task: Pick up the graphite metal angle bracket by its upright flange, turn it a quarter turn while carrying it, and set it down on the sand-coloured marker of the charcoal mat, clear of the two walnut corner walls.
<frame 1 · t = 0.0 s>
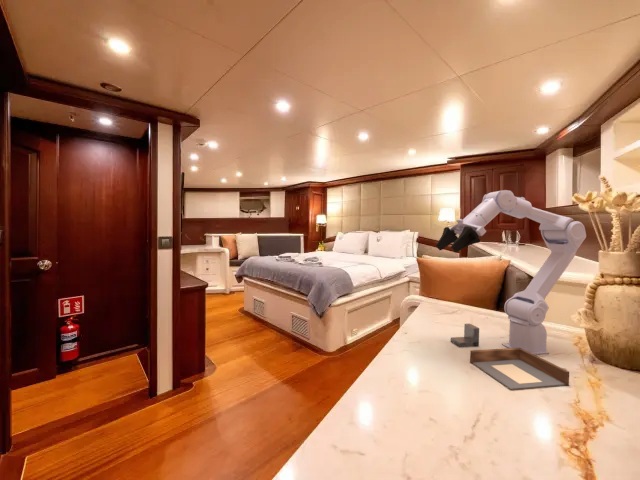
hand: (445, 248, 83), 32 cm above the worktop, tool tilted 50°, fingers open, 7 cm apart
angle bracket: (464, 344, 92), on the worktop
corner mat: (515, 372, 73), on the worktop
corner walls: (515, 372, 73), resting on corner mat
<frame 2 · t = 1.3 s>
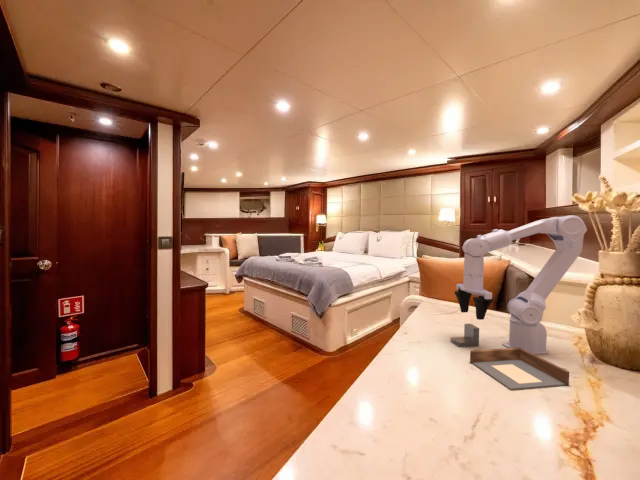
hand: (471, 315, 92), 9 cm above the worktop, tool pointing down, fingers open, 7 cm apart
nothing on the worktop moved.
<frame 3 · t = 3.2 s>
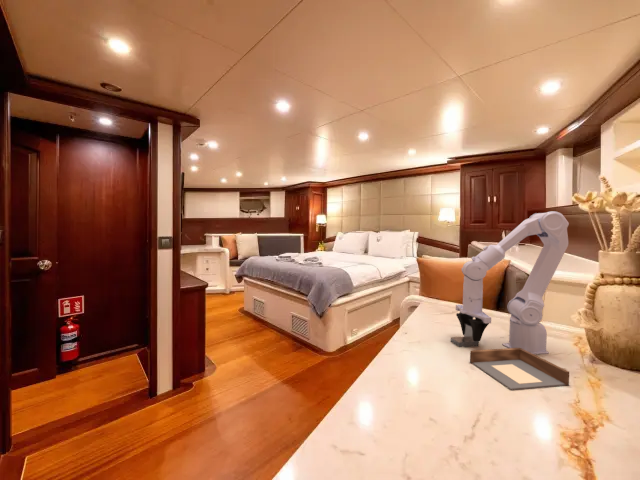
hand: (471, 337, 92), 2 cm above the worktop, tool pointing down, fingers closed on angle bracket, 4 cm apart
angle bracket: (464, 343, 92), on the worktop, touching gripper
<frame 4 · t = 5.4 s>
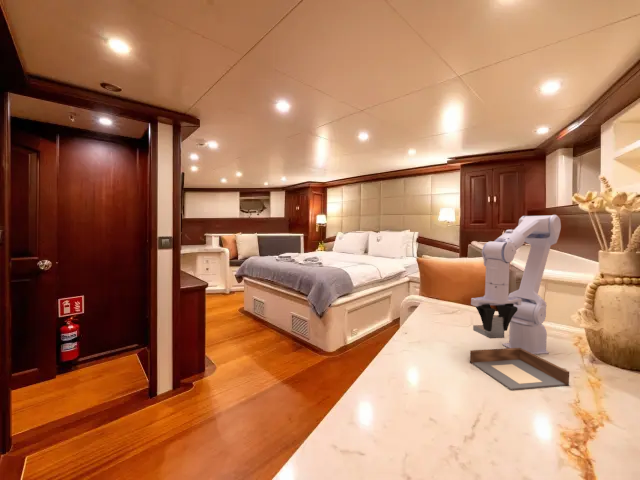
hand: (495, 329, 80), 9 cm above the worktop, tool pointing down, fingers closed on angle bracket, 4 cm apart
angle bracket: (488, 333, 83), point 7 cm above the worktop, touching gripper
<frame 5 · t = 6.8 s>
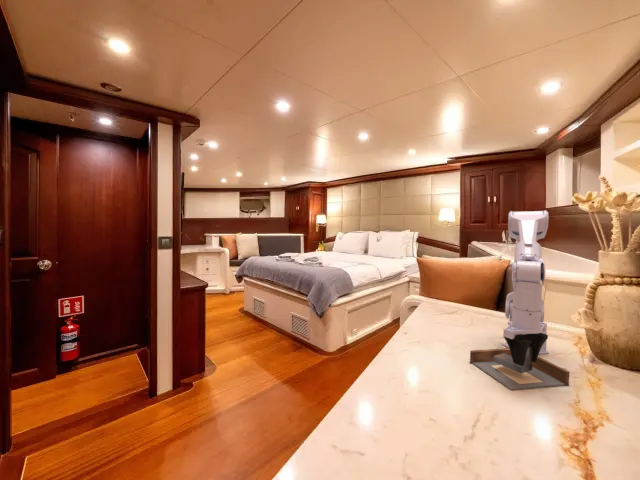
hand: (524, 362, 69), 5 cm above the worktop, tool pointing down, fingers closed on angle bracket, 4 cm apart
angle bracket: (512, 365, 72), point 2 cm above the worktop, touching gripper
when the fingers open (4 cm above the worktop, at t = 7.9 s): angle bracket stays where it is, resting on corner mat.
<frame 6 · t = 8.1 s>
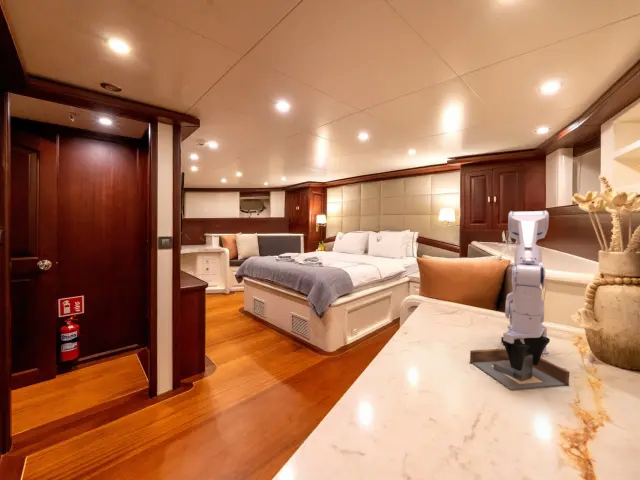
hand: (524, 366, 69), 4 cm above the worktop, tool pointing down, fingers open, 6 cm apart
angle bracket: (512, 373, 72), resting on corner mat
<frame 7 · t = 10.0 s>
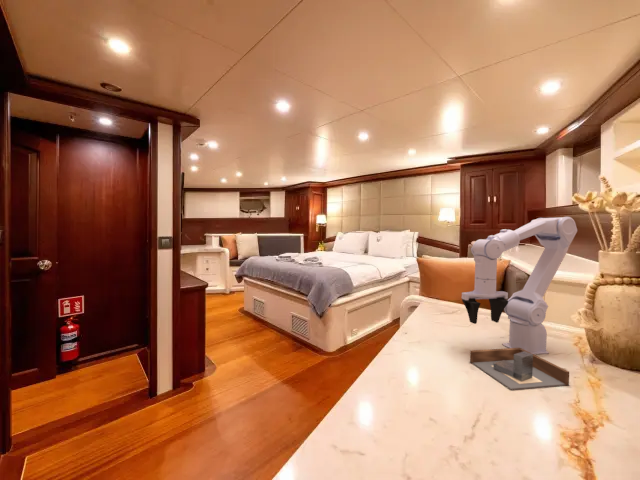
hand: (484, 322, 85), 9 cm above the worktop, tool pointing down, fingers open, 7 cm apart
nothing on the worktop moved.
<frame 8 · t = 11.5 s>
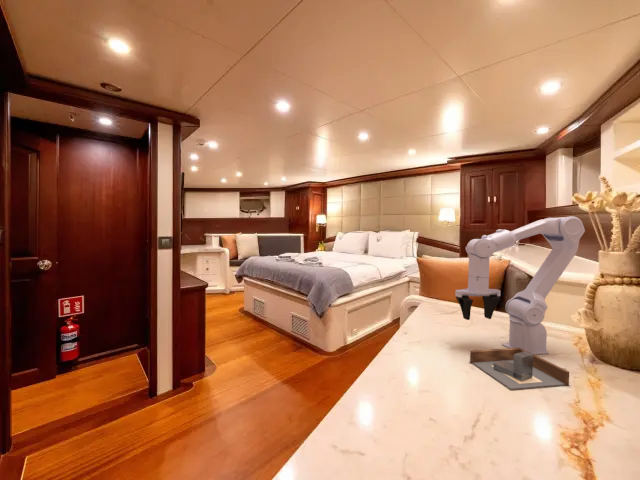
hand: (477, 318, 89), 9 cm above the worktop, tool pointing down, fingers open, 7 cm apart
nothing on the worktop moved.
at the end: angle bracket inside the target area (0.8 cm from its centre), point 0.5 cm above the worktop; angle bracket touching corner mat; angle bracket tilted 0° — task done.
